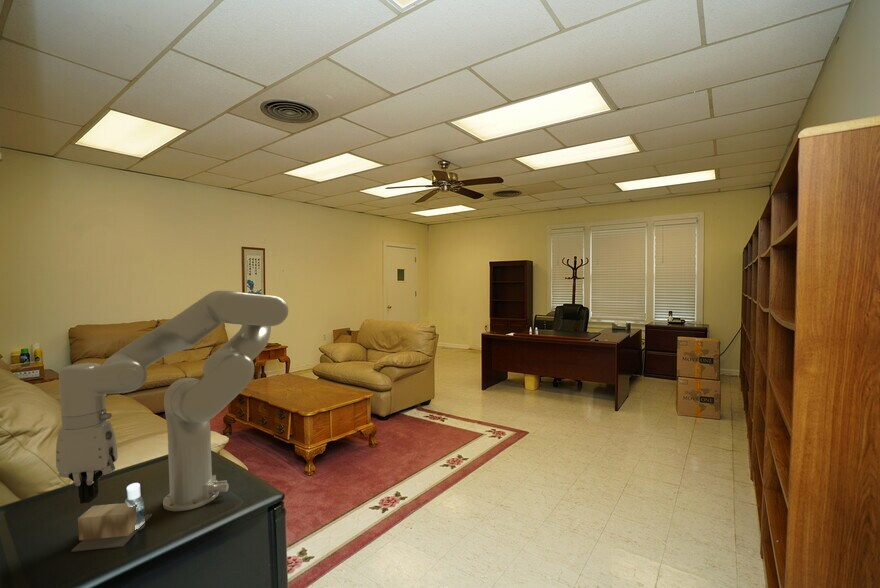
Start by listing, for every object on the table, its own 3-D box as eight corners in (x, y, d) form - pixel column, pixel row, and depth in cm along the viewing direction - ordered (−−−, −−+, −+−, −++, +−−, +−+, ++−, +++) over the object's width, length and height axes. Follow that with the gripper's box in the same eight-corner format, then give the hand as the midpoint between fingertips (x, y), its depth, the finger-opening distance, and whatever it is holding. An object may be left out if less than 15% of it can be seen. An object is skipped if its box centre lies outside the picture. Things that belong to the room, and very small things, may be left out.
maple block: (93, 526, 96) (141, 522, 98) (78, 540, 91) (129, 535, 93) (92, 505, 96) (140, 501, 97) (77, 518, 91) (128, 513, 92)
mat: (152, 515, 101) (152, 514, 101) (122, 546, 89) (122, 545, 89) (107, 519, 100) (107, 517, 100) (71, 551, 88) (71, 550, 88)
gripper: (131, 412, 98) (135, 488, 98) (59, 416, 95) (64, 494, 96) (110, 423, 90) (115, 506, 91) (32, 428, 88) (38, 512, 89)
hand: (89, 499), depth 94 cm, fingers closed
